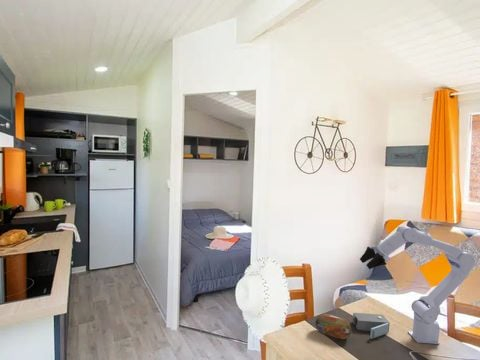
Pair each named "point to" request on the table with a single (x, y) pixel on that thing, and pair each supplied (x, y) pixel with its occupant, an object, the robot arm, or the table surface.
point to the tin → (333, 326)
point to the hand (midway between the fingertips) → (364, 264)
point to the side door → (379, 330)
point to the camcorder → (368, 321)
